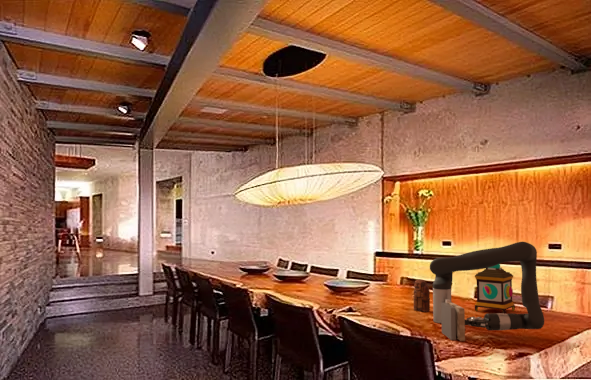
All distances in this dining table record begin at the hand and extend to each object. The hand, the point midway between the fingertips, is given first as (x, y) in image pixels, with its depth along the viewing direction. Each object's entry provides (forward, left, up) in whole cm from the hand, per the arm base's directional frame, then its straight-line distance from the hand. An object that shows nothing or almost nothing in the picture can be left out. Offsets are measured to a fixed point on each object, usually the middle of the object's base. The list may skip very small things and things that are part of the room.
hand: (459, 322), depth 213 cm
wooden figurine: (-65, 0, -7) cm, 66 cm away
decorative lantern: (-64, +43, -7) cm, 78 cm away
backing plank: (-5, -2, -7) cm, 9 cm away
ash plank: (-2, -1, -7) cm, 7 cm away
